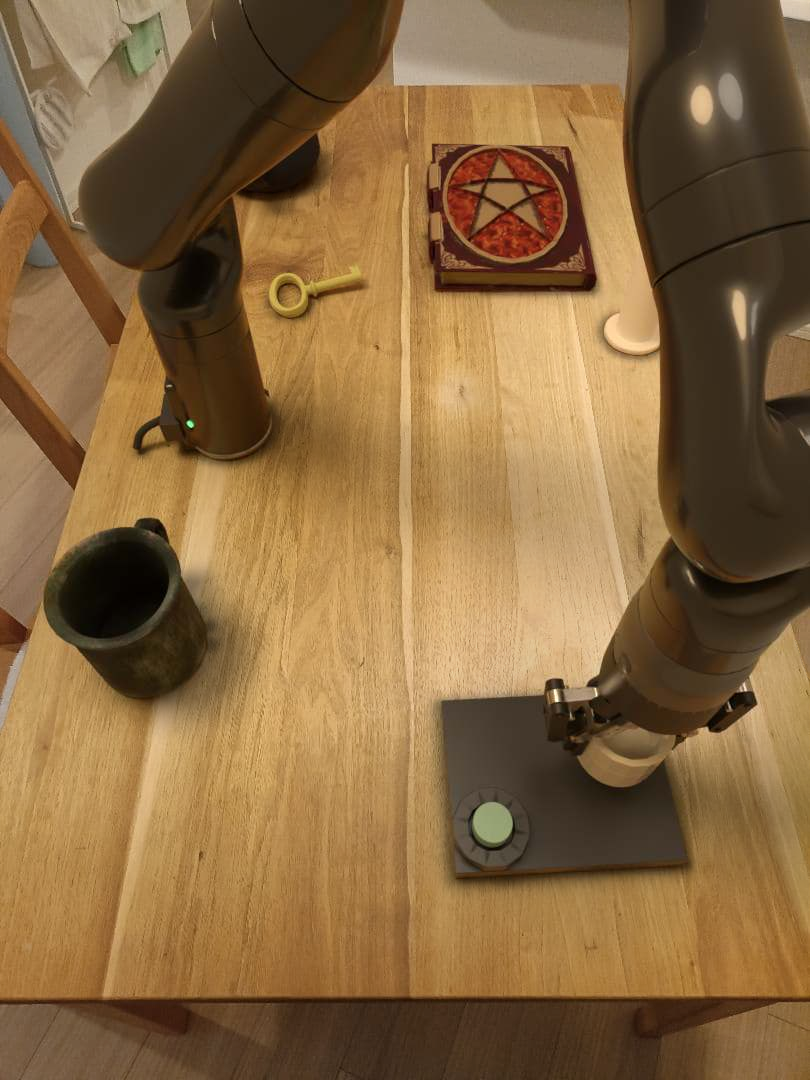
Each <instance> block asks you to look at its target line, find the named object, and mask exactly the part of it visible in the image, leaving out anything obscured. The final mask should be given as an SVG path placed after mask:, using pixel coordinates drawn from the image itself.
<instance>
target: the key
mask: <svg viewBox="0 0 810 1080" xmlns="http://www.w3.org/2000/svg"><path fill="white" fill-rule="evenodd" d="M348 268H349V269H348V270H349V272H350V273H348V274H344V275H340V276H336V277H333V278H329V279H325V280H321V281H317V282H315V281H314V280H310V281H309V284H305V283H304V281H303V279H302V278H301V277H300V276H299V275H298V274H295V273H293V272H285V273H281V274H279V275H277V276H276V277H275V278H273V280H272V282H271V283H270V286H269V289H268V300H269V304H270V305H271V307H272V309H273V310H274V311H275V312H276V313H277V314H279V315H280V316H281V317H284V318H289V319H292V318H296V317H299V316H301V315H302V314H304V312H305V311H306V310H307V308H308V305H309V296H310V295H312V296H313V297H315V298H316V297H317V296H318V293H321V292H325V291H329V290H332V289H333V290H334V289H336V288H341V287H344V286H348V285H351V284H355V283H359V282H363V281H364V278H363V274H362V271H361V270H360V269H359V265H358V264H356V265H355V266H352V265H351V266H349V267H348ZM285 284H293V285H295V286H296V287H298V288H299V290H300V294H301V298H300V300H299V302H298V303H297V304H296V305H294V306H291V307H285V306H283V305H282V304H281V303H280V302H279V300H278V291H279V288H280V287H281V286H283V285H285Z"/></svg>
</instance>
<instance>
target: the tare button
mask: <svg viewBox="0 0 810 1080" xmlns="http://www.w3.org/2000/svg"><path fill="white" fill-rule="evenodd" d="M512 828H513V820H512V816H511V814H510V812H509V811H508V809H507V808H506V807H504V806H503V805H501V804H499V803H496V802H488V803H485V804H483V805H481V806H480V807H479V808H478V809H477V810H476V812H475V814H474V817H473V821H472V831H473V834H474V836H475V838H476V840H477V841H478V842H479V843H481V844H482V845H484V846H486V847H491V848H494V847H499V846H501V845H502V844H504V843H505V842H506V841H507V839H508V838H509V836H510V833H511V831H512Z"/></svg>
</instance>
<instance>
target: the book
mask: <svg viewBox="0 0 810 1080" xmlns="http://www.w3.org/2000/svg"><path fill="white" fill-rule="evenodd" d="M571 151H572V150H571V148H570V147H569V146H564V145H563V146H562V145H525V144H523V145H520V144H519V145H518V144H477V143H475V144H473V143H472V144H471V143H431V160H430V165H428V166H427V170H426V171H427V172H426V201H427V209H428V211H430V212H431V214H429V217H428V221H427V248H428V249H427V250H428V256H429V257H428V258H429V262H430V263H431V264H433V283H434V285H433V287H434V291H518V292H519V291H523V292H524V291H525V292H526V291H527V292H528V291H529V292H531V291H533V292H534V291H535V292H537V291H539V292H540V291H541V292H542V291H543V292H590V291H592V290H593V289H594V288H595V287H596V285H597V281H598V276H597V272H596V267H595V261H594V257H593V252H592V248H591V247H592V246H591V243H590V238H589V234H588V233H589V232H588V228H587V223H586V219H585V213H584V208H583V204H582V199H581V194H580V190H579V185H578V180H577V174H576V170H575V165H574V164H575V163H574V160H573V155H572V152H571Z"/></svg>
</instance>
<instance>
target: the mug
mask: <svg viewBox="0 0 810 1080" xmlns="http://www.w3.org/2000/svg"><path fill="white" fill-rule="evenodd" d="M177 554H178V553H177V552H176V551H175V549H174V548H173V546H172V545H171V543H170V538H169V535H168V531H167V529H166V527H165V526H164V523H162V521H161V520H160V519H159V518H155V517H142V518H138V519H137V520H136V521H135V523H134V525H133V526H118V527H111V528H108V529H105V530H104V529H103V530H100V531H98V532H96V533H92V534H90V535H88V536H87V537H85V538H82V539H81V540H80V541H78V542H77V543H76V544H74V545H73V546H71V547H70V548H69V549H68V550H67V551H66V552H64V554H63V555H62V556H61V557H60V558H59V560H57V562H56V563H55V565H54V567H53V568H52V570H51V571H50V573H49V576H48V577H47V580H46V583H45V586H44V589H43V599H42V601H43V611H44V615H45V618H46V621H47V623H48V625H49V627H50V629H51V630H52V631H53V632H54V634H55V635H56V636H57V637H59V638H60V639H61V640H63V641H64V642H66V643H68V644H70V645H72V646H74V647H75V648H76V650H77V651H78V652H79V653H80V654H81V655H82V656H83V658H85V660H86V661H87V662H88V663H89V664H90V666H91V667H92V668H93V669H94V671H96V673H97V674H98V675H99V676H100V677H101V678H102V679H103V680H104V682H105V683H106V684H107V685H108V686H109V687H110V688H111V689H113V690H114V691H116V692H118V693H120V694H121V695H124V696H128V697H133V698H151V697H157V696H160V695H163V694H165V693H167V692H170V691H172V690H174V689H175V688H177V687H178V686H180V685H182V684H183V683H184V682H185V681H186V680H187V679H189V678H190V676H191V675H192V674H193V673H194V672H195V671H196V669H197V668H198V666H199V664H200V662H201V661H202V658H203V657H204V654H205V651H206V647H207V640H208V635H207V634H208V632H207V627H206V623H205V620H204V618H203V616H202V614H201V612H200V609H199V608H198V606H197V604H196V602H195V600H194V598H193V596H192V594H191V592H190V590H189V589H188V586H187V584H186V582H185V580H184V578H183V575H182V569H181V563H180V560H179V558H178V555H177Z"/></svg>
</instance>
